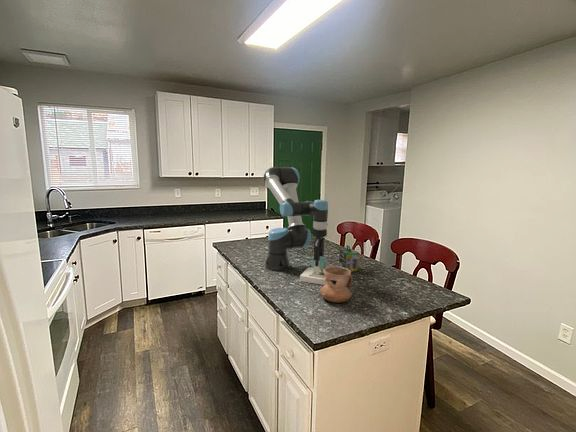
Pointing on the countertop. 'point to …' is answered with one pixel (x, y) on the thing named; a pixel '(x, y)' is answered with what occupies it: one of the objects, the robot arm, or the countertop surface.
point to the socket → (312, 276)
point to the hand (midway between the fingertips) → (318, 269)
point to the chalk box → (349, 259)
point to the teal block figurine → (322, 263)
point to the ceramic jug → (336, 284)
